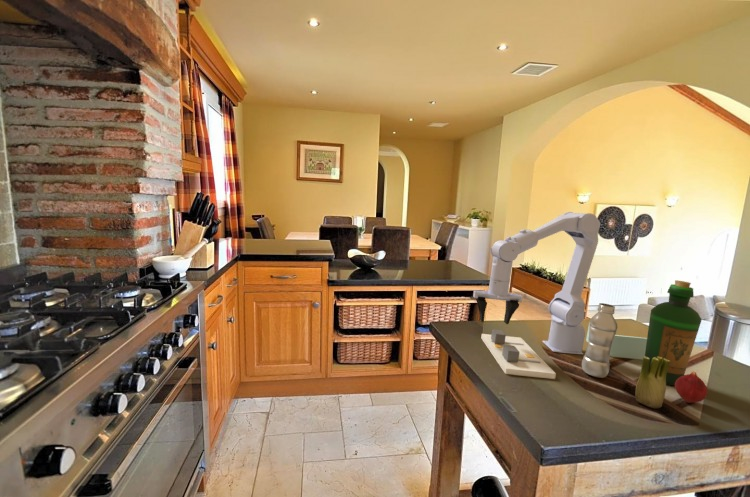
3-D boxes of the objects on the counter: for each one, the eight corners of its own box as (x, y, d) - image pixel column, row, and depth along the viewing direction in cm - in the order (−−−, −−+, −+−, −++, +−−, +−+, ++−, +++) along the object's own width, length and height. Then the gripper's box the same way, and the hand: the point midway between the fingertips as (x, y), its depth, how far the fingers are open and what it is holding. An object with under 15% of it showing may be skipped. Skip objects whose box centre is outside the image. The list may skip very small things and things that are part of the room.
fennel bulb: (633, 404, 81) (643, 356, 79) (631, 395, 85) (640, 349, 83) (664, 414, 78) (676, 364, 76) (660, 404, 82) (671, 357, 80)
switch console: (520, 341, 114) (520, 337, 113) (555, 379, 90) (556, 373, 90) (481, 337, 114) (481, 333, 114) (505, 373, 90) (506, 367, 90)
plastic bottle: (603, 372, 97) (616, 304, 94) (611, 383, 90) (625, 310, 87) (577, 366, 99) (589, 300, 96) (583, 377, 92) (596, 306, 89)
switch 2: (512, 355, 98) (514, 345, 97) (517, 362, 94) (519, 351, 93) (502, 354, 98) (503, 344, 97) (506, 361, 94) (508, 350, 93)
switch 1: (500, 339, 110) (501, 330, 109) (504, 344, 106) (505, 335, 105) (490, 338, 110) (492, 329, 109) (494, 343, 106) (496, 334, 105)
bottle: (675, 392, 89) (699, 287, 85) (630, 372, 98) (649, 277, 94) (693, 385, 94) (717, 286, 90) (648, 366, 103) (668, 276, 99)
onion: (709, 411, 81) (717, 380, 80) (682, 406, 82) (689, 375, 81) (692, 398, 86) (699, 368, 85) (666, 393, 87) (673, 364, 86)
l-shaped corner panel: (645, 361, 108) (650, 339, 107) (607, 357, 109) (612, 335, 107) (619, 345, 120) (623, 325, 119) (585, 342, 120) (589, 322, 119)
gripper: (479, 280, 101) (473, 324, 103) (528, 285, 101) (522, 328, 103) (473, 275, 108) (468, 316, 110) (519, 279, 108) (513, 320, 110)
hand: (493, 321), depth 107 cm, fingers open, 7 cm apart
